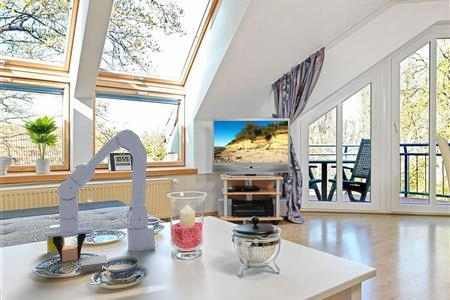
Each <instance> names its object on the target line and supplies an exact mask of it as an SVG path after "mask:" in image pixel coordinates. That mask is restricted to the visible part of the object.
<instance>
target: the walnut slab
mask: <svg viewBox="0 0 450 300" xmlns="http://www.w3.org/2000/svg"><path fill="white" fill-rule="evenodd" d="M101 271H103V270H95V271H88V272H81V268H80V269H79V274H88V273H94V272H95V273H96V272H101Z"/></svg>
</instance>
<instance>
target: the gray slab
mask: <svg viewBox="0 0 450 300" xmlns="http://www.w3.org/2000/svg"><path fill="white" fill-rule="evenodd" d="M107 256H108V255H107V254H102V255H95V256H86V257H82V260H81V264H80V269H81V272H88V271H95V270H102V266H103V265H106V260H107V261H108V259H107ZM102 271H103V270H102ZM95 272H96V271H95ZM88 273H89V272H88Z"/></svg>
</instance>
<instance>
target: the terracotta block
mask: <svg viewBox="0 0 450 300" xmlns="http://www.w3.org/2000/svg"><path fill="white" fill-rule="evenodd" d="M78 260H79V258H78V244H69V245H65V246H64V247H63V249H62V260H61V262H63V263H64V262H72V261H78Z"/></svg>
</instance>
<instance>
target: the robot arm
mask: <svg viewBox="0 0 450 300" xmlns="http://www.w3.org/2000/svg"><path fill="white" fill-rule="evenodd" d="M121 148H122V149H124V150H126V151H127V152H128V154H130V155H131V156H132V175H131V180H132V181H131V197H130V203H129V208H128V209H127V213H126V219H127V220H128V222H129V223H128V225H127V226H126V229H127V230H126V231H127V250H128V251H129V252H140V251H141V252H142V251H146V250H153V249H154V250H155V247H156V246H155V245H156V241H155V228H154V225H149V224H148V222H149V215H148V212H147V205H146V183H147V165H148V164H147V163H148V151H147V149H146V148H145V146H144V144H143V142H142V140H141V139H140V136H139V135H138V134H137V133H136V132H134V131H133V130H131V129H127V128H126V129H122V130H119V131H118V132H117V133H116V134H115V135H114V136H112V137H110V139H108V140H107V141H106V142H105V143H104V144H103V145H102V147H100V149H99V150H98V151H96V152H95V154H94V155H93V156H92V157H91V158H90V160H89V161H88V162H81V163H80V164H77V165H76V166H75V167H74V168H75V169H74V171H73V172H72V173H71V174H70V175H68V176H65V178H64V180H65V181H62V182H61V183H60V184H59V186H58V189H57V194H58V196H59V198H58V202H59V204H58V212H59V213H58V214H59V216H58V217H59V225H60V230H57V231H51V232H49V231H45V232H44V240H47V239H49V238H53V244H54V245H55V247H56V248H57V250H58V255H59V259H60V261H62V249H63V237H64V238H66V237H75V236H77V237H76V242H77V244H78V259H79V258H81V254H82V253H81V252H82V247H83V245H84V242H85V239H86V237H87V235H94V234H95V233H94V227H92V226H91V227H80V221H79V220H80V219H79V218H80V217H79V202H78V193H79V189H83V188H84V187H85V186H86V184H87V183H88V182H90V180H91V179H92V178H93V177H94V176H96V168H97V167H98V166H99V165H100V164H101V163H102V162H104V160H105V159H106V158H107V157H108V156H109V155H110V154H111V153H113V152H115V151H117V150H121Z"/></svg>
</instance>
